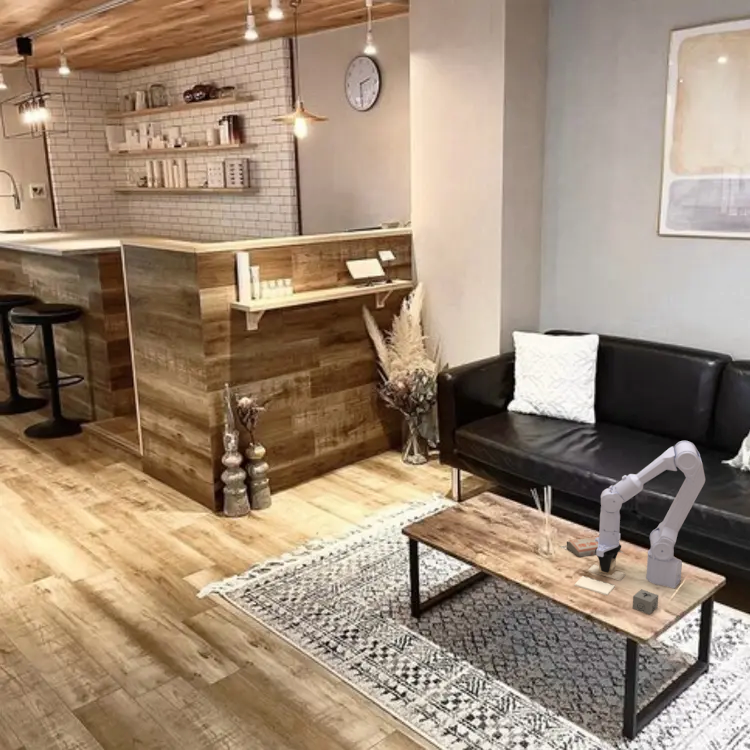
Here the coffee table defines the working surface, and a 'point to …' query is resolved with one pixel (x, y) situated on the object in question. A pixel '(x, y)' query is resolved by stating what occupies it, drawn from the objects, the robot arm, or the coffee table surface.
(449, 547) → the coffee table surface
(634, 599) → the dice cube
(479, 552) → the coffee table surface
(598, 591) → the board
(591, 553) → the packaged product
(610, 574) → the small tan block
